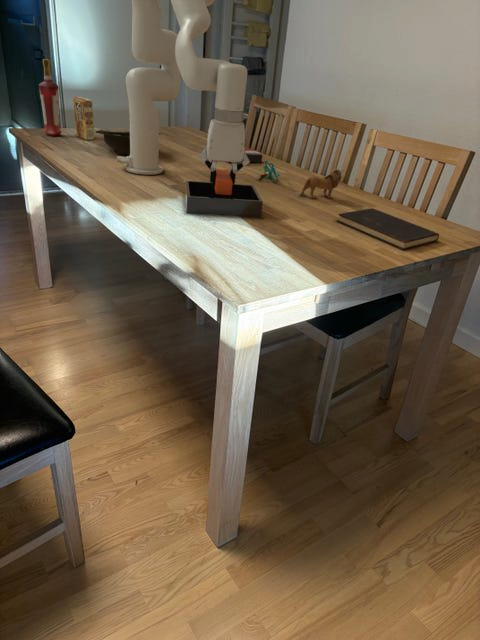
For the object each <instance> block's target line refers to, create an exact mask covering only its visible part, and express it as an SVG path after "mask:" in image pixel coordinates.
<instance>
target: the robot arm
mask: <svg viewBox="0 0 480 640" xmlns="http://www.w3.org/2000/svg"><path fill="white" fill-rule="evenodd" d="M215 1H216V0H170V3H171V7H172V9H173V11H174V14H175V17H176V20H177V23H178V25H179V28H180V29H179V31H178V34H177V33H176V32H175V31H173V30H169V29H163V28H162V18H163V15H162V14H163V12H162V8H161V6H160V3H159V0H131V5H132V6H131V7H132V13H131V14H132V15H131V17H132V18H131V52H132V53H131V54H132V56H133V58H134V59H135V61H138V62H140V63H144V64H153V65H161V66H160V67H161V68H154V67H142V66H141V67H139V66H138V67H134V68H131V69H130V70H129V71H128V72H127V74H126V76H125V88H126V93H127V100H128V111H129V113H128V114H129V115H128V116H129V131H130V155H126V156H121V155H119V156H118V155H117V156H116V162H117V163H119V164H125V170H126V171H127V172H129V173H131V174H137V175H144V176H151V175H152V176H153V175H159V174H162V173H164V167H162V166H161V165H159V159H160V158H159V157H160V156H159V155H160V153H159V152H160V151H159V150H160V135H159V133H160V118H159V117H160V115H159V113H158V110H157V108H156V106H155V105H154V102H173V101H175V100H176V99H177V98H178V96H179V94H180V89H181V79H182V80H183V83H184V84H185V85H186V87H188V88H189V89H190V90H193V91H202V92H203V91H204V92H205V91H207V92H215V99H214V101H215V102H214V111H213V112H214V113H213V119H211V120H210V122H209V125H208V126H209V127H208V131H207V137H206V138H207V139H206V146H205V148H203V150H202V152H201V153H200V154H199V155H198V159H199V160H200V161H201V162H202V163H203V164H204V165H205V166H207V168H208V170H210V174H209V175H210V176H209V182H212V186H215V181H216V170H217V169H216V167H217V164H218V162H224V163H225V162H227V163H229V162H231V163H230V165H231V169H230V170H229V174H230V177H231V179H232V182H233V183H232V185H233V184H236V174H237V173H238V172H239V171H241V169H243V168H244V167H245V166H247V165H249V164H250V163H251V162H250V161H249V159H248V157H247V155H246V153H245V151H244V148H245V142H246V141H245V140H246V132H245V123H244V120H249V113H246V112H245V111H244V110H245V109H244V107H245V100H246V99H245V98H246V92H247V91H246V90H247V81H248V80H247V79H248V69H247V67H246V66H245V65H243V64H238V63H231V62H230V61H228V60H224V59H217V58H216V59H215V58H207V57H198V56H197V54H196V52H195V48H194V46H193V40H194V39H196V38H198V37H200V36H202V35H203V34H204V33H206V32H207V31H208V29H209V28H210V27H211V23H212V18H211V14H210V12H209V9H208V7H209V6H211V5H213V4H214V3H215ZM242 160H243V161H242ZM241 161H242V162H241ZM236 162H239V163H236Z"/></svg>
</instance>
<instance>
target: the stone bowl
mask: <svg viewBox="0 0 480 640" xmlns="http://www.w3.org/2000/svg"><path fill="white" fill-rule="evenodd" d="M95 133H96V134H100V135H103V141H104V143H105V145H108V146H109V147H110V148H113V149H114V150H115V153H116V154H117V155H119V156H121V155H122V156H123V155H124V156H129V155H130V130H119V129H117V130H109V129H106V130H105V129H104V130H103V129H98V130H94V134H95ZM161 134H162V133H160V132H159V136H160V135H161Z"/></svg>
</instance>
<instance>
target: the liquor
mask: <svg viewBox="0 0 480 640" xmlns="http://www.w3.org/2000/svg"><path fill="white" fill-rule="evenodd" d="M42 66H43V75H44V76H43V81H42V82H40V83H39V84H38V88H39V90H38V91H39V97H40V103H41V109H42V116H43V124H44V131H43V132H44V134H46V135H47V136H49V137H59V136H60V135H61V134H62V130H61V120H60V94H59V93H60V91H59V85H58V84H56V83H55V82H54V81H53V78H52V72H51V60H50V59H46V58H43V59H42Z"/></svg>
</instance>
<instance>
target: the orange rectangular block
mask: <svg viewBox="0 0 480 640" xmlns="http://www.w3.org/2000/svg"><path fill="white" fill-rule="evenodd" d="M232 183H233V182H232V179H231V177H230V171H229V170H226V169H225V170H223V169H216V181H215V186H214V188H215V192H216V194H222V195H231V193H232Z"/></svg>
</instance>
